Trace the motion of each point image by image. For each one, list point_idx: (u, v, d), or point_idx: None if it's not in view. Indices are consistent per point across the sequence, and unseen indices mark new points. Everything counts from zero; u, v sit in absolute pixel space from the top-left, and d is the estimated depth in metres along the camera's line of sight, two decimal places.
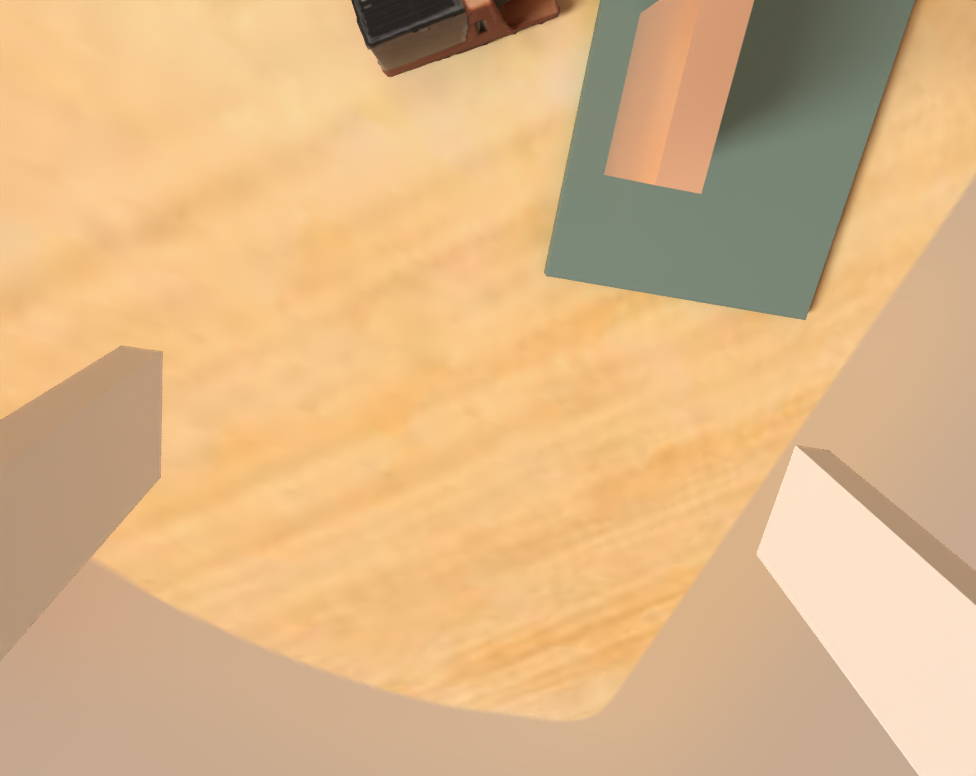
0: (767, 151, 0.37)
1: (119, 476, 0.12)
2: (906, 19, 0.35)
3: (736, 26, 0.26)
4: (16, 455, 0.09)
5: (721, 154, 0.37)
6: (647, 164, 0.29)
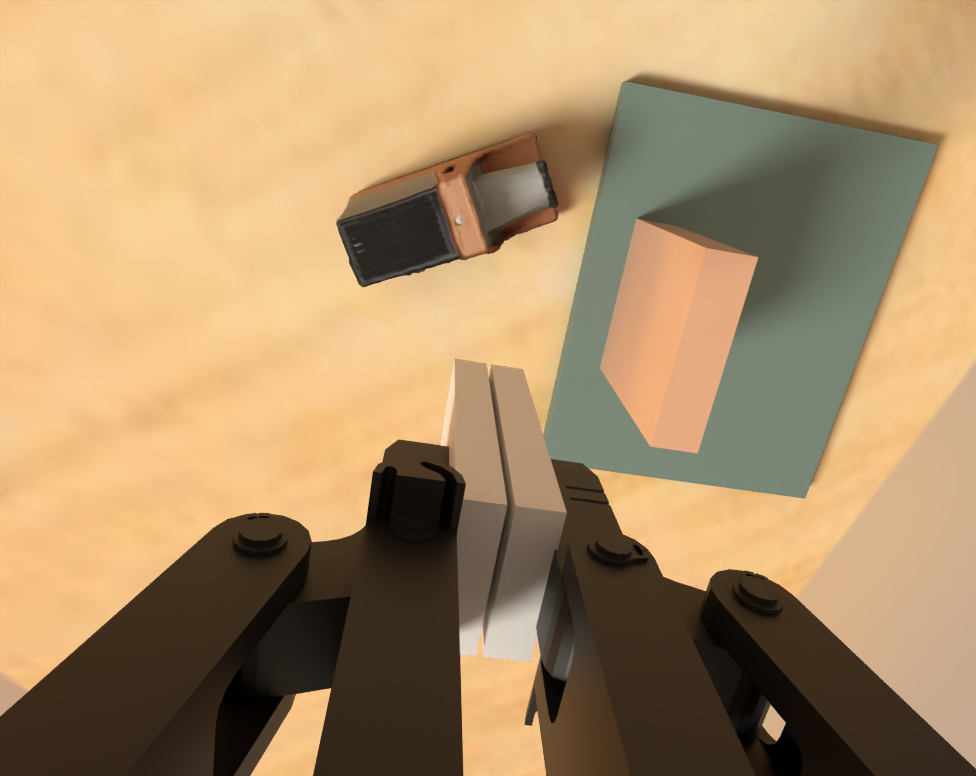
0: (766, 344, 0.36)
1: None
2: (908, 219, 0.34)
3: (733, 303, 0.25)
4: (494, 445, 0.12)
5: None
6: (643, 411, 0.29)
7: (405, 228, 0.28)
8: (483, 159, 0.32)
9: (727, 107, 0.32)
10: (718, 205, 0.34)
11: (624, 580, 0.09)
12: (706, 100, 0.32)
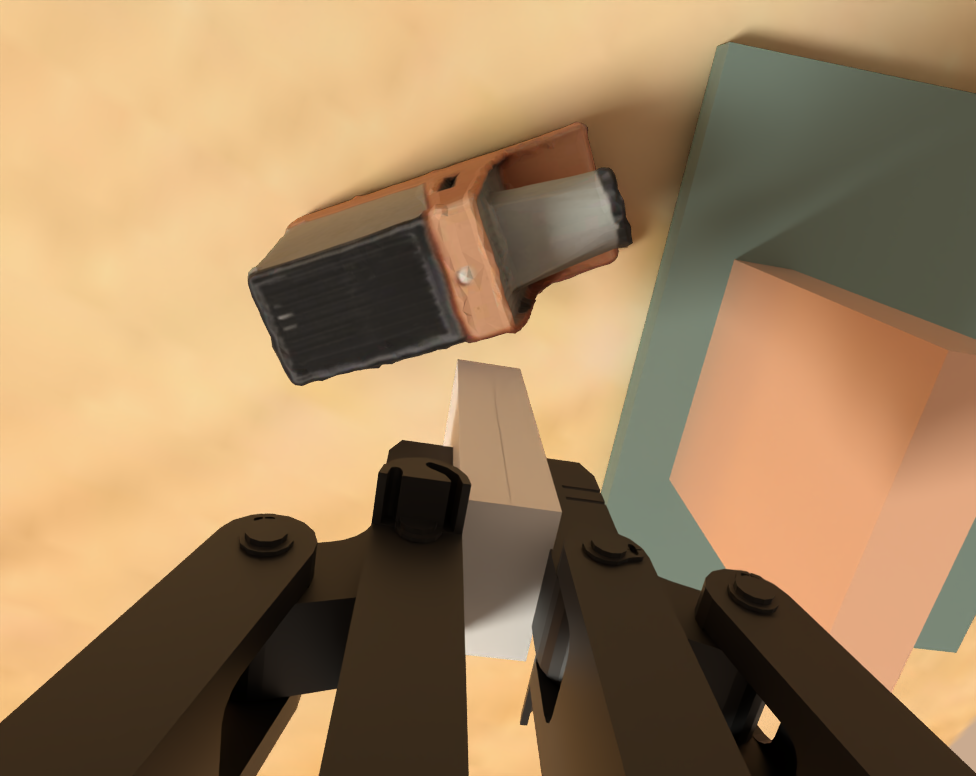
0: None
1: None
2: None
3: None
4: (498, 446, 0.12)
5: None
6: None
7: (368, 290, 0.15)
8: (502, 165, 0.20)
9: (889, 84, 0.20)
10: (862, 239, 0.22)
11: (619, 579, 0.09)
12: (855, 73, 0.20)
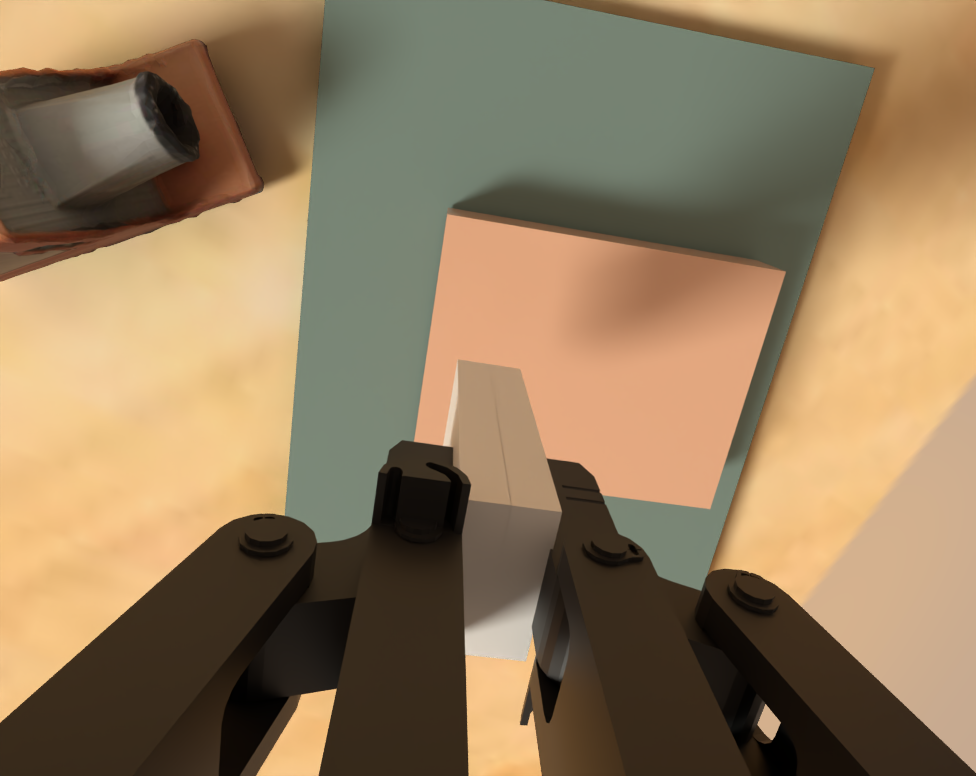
0: None
1: None
2: (829, 195, 0.21)
3: None
4: (498, 446, 0.12)
5: None
6: (663, 481, 0.22)
7: None
8: None
9: (510, 3, 0.19)
10: (512, 173, 0.20)
11: (619, 580, 0.09)
12: None
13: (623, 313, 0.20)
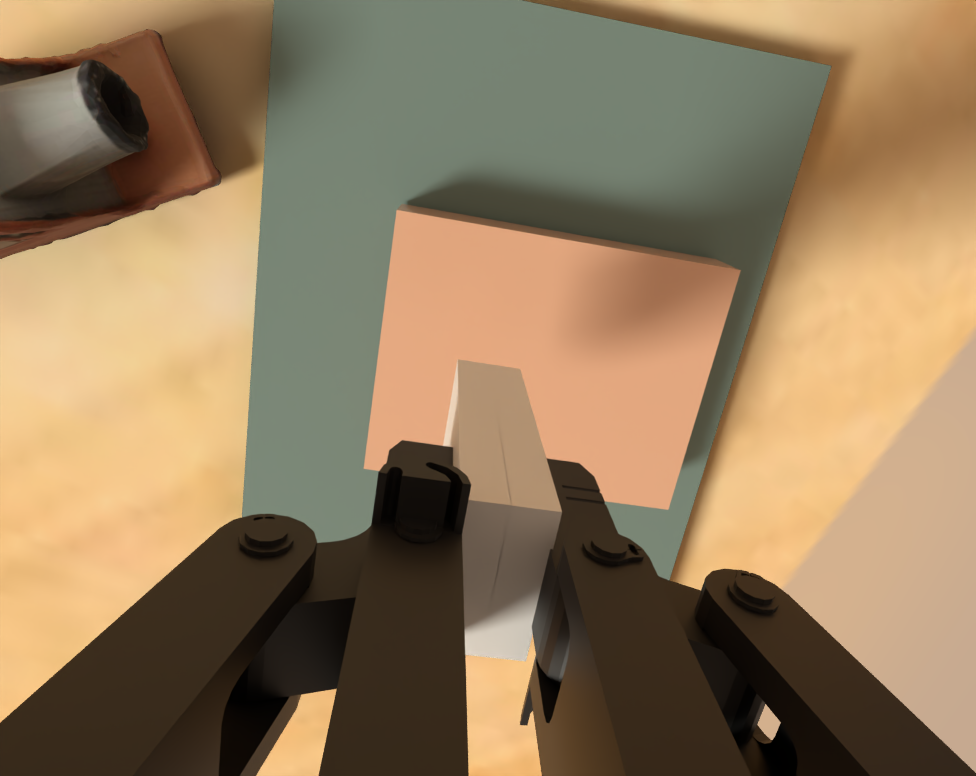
0: None
1: None
2: (787, 194, 0.21)
3: None
4: (498, 446, 0.12)
5: None
6: (621, 481, 0.22)
7: None
8: None
9: None
10: (467, 169, 0.20)
11: (619, 579, 0.09)
12: None
13: (577, 311, 0.20)
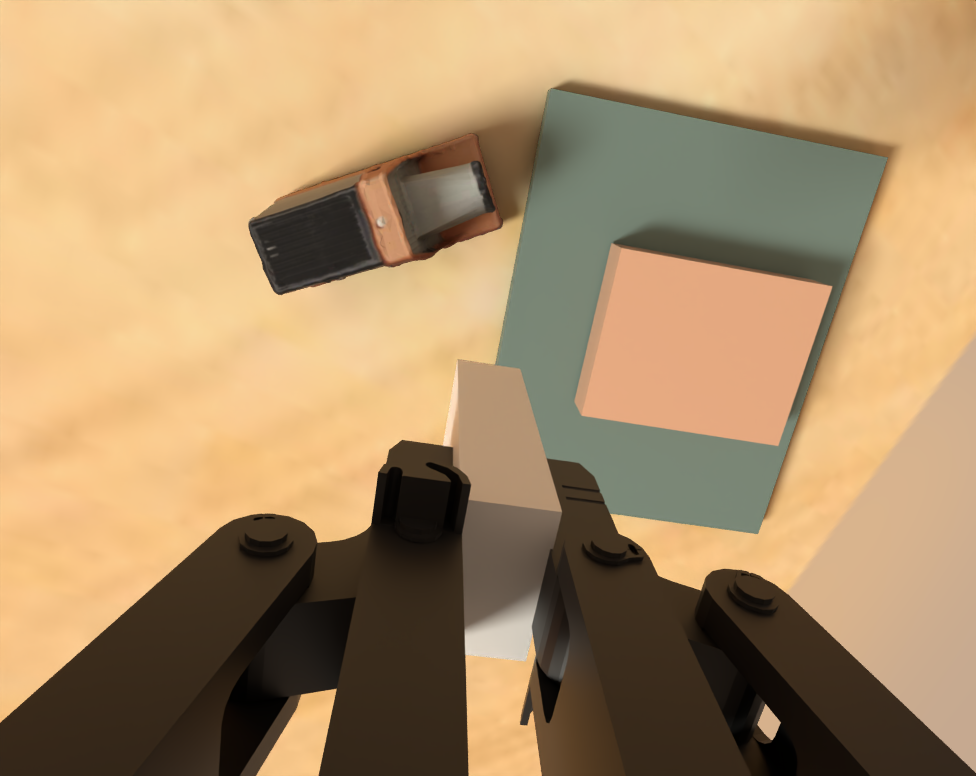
0: None
1: None
2: (858, 237, 0.32)
3: None
4: (498, 446, 0.12)
5: None
6: (748, 426, 0.33)
7: (322, 231, 0.25)
8: (420, 161, 0.30)
9: (660, 117, 0.30)
10: (653, 221, 0.32)
11: (619, 579, 0.09)
12: (637, 109, 0.30)
13: (727, 312, 0.31)
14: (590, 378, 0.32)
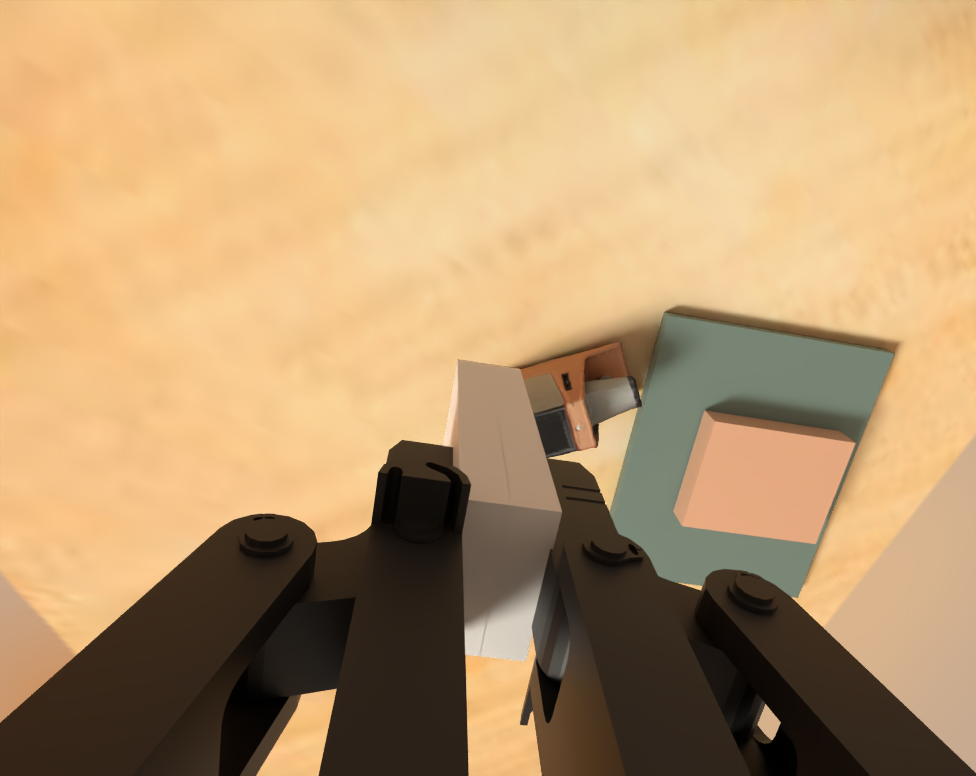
0: None
1: None
2: (873, 403, 0.47)
3: None
4: (498, 446, 0.12)
5: None
6: (795, 531, 0.48)
7: (540, 431, 0.40)
8: None
9: (741, 331, 0.45)
10: (733, 395, 0.46)
11: (619, 579, 0.09)
12: (726, 326, 0.44)
13: (784, 459, 0.46)
14: (689, 502, 0.46)
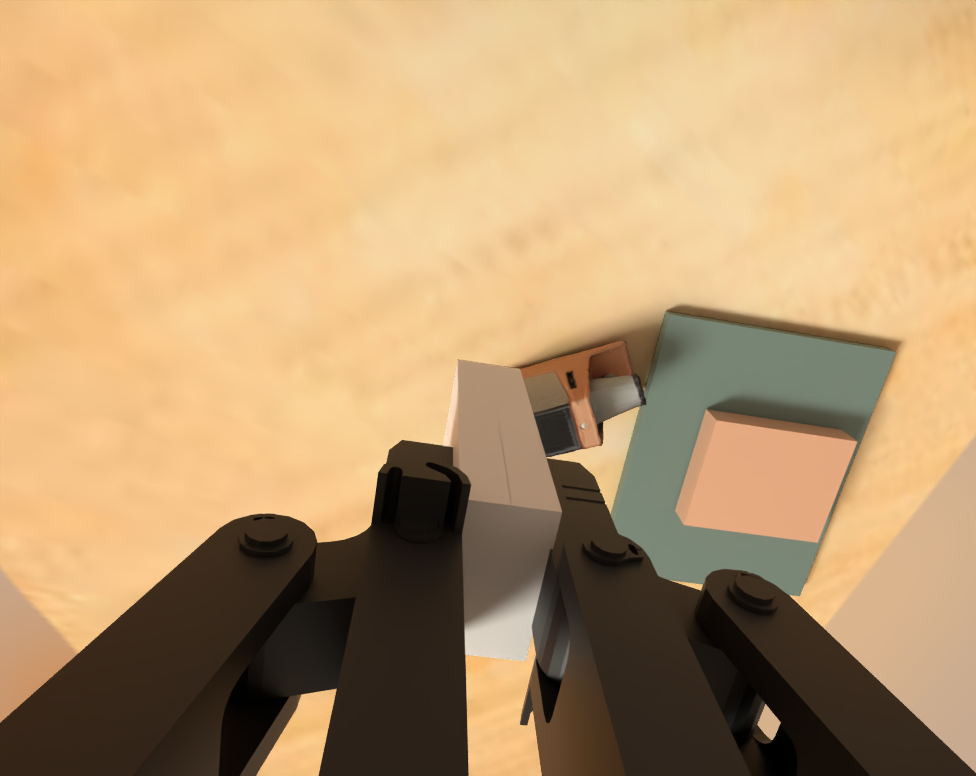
0: None
1: None
2: (875, 402, 0.47)
3: None
4: (498, 446, 0.12)
5: None
6: (797, 530, 0.48)
7: (545, 429, 0.40)
8: None
9: (742, 330, 0.45)
10: (735, 394, 0.46)
11: (619, 579, 0.09)
12: (727, 325, 0.44)
13: (786, 458, 0.46)
14: (691, 501, 0.46)
